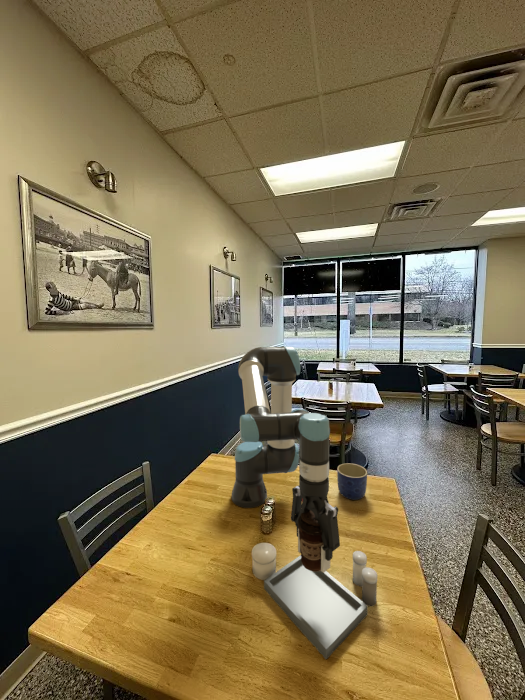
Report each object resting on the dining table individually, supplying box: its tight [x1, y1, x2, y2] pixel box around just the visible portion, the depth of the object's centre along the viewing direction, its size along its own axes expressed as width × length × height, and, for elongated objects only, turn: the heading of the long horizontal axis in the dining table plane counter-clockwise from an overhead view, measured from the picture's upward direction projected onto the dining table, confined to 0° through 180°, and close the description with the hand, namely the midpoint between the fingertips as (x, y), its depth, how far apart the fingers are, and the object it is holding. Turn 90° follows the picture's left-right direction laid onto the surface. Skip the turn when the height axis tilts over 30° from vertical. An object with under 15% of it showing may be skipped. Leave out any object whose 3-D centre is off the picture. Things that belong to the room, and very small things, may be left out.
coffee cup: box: [298, 510, 324, 572], centre depth 76 cm, size 9×8×13 cm
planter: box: [336, 462, 368, 501], centre depth 125 cm, size 12×12×11 cm
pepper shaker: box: [361, 566, 378, 607], centre depth 77 cm, size 4×4×8 cm
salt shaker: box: [352, 550, 368, 587], centre depth 83 cm, size 4×4×8 cm
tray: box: [263, 554, 369, 660], centre depth 77 cm, size 22×16×2 cm
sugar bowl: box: [251, 542, 277, 581], centre depth 87 cm, size 7×7×6 cm
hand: (313, 559), depth 76 cm, fingers closed on coffee cup, 7 cm apart
